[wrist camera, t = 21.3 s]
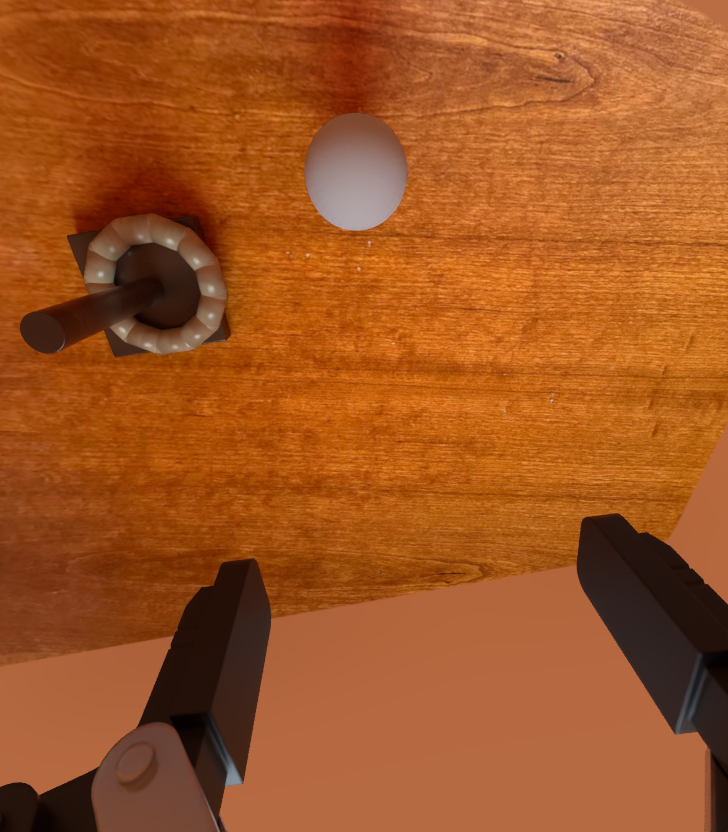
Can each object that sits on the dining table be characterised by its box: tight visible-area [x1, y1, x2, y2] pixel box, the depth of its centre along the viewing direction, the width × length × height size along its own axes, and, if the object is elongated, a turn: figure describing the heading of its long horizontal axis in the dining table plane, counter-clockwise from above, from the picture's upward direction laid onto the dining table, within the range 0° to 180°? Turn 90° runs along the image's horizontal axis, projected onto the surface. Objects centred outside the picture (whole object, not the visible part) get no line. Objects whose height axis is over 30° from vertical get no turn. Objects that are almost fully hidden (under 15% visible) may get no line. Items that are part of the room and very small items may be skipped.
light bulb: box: [304, 113, 407, 231], centre depth 27 cm, size 6×6×10 cm
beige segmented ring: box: [84, 213, 228, 354], centre depth 31 cm, size 10×10×2 cm
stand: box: [20, 216, 231, 357], centre depth 27 cm, size 9×9×14 cm
